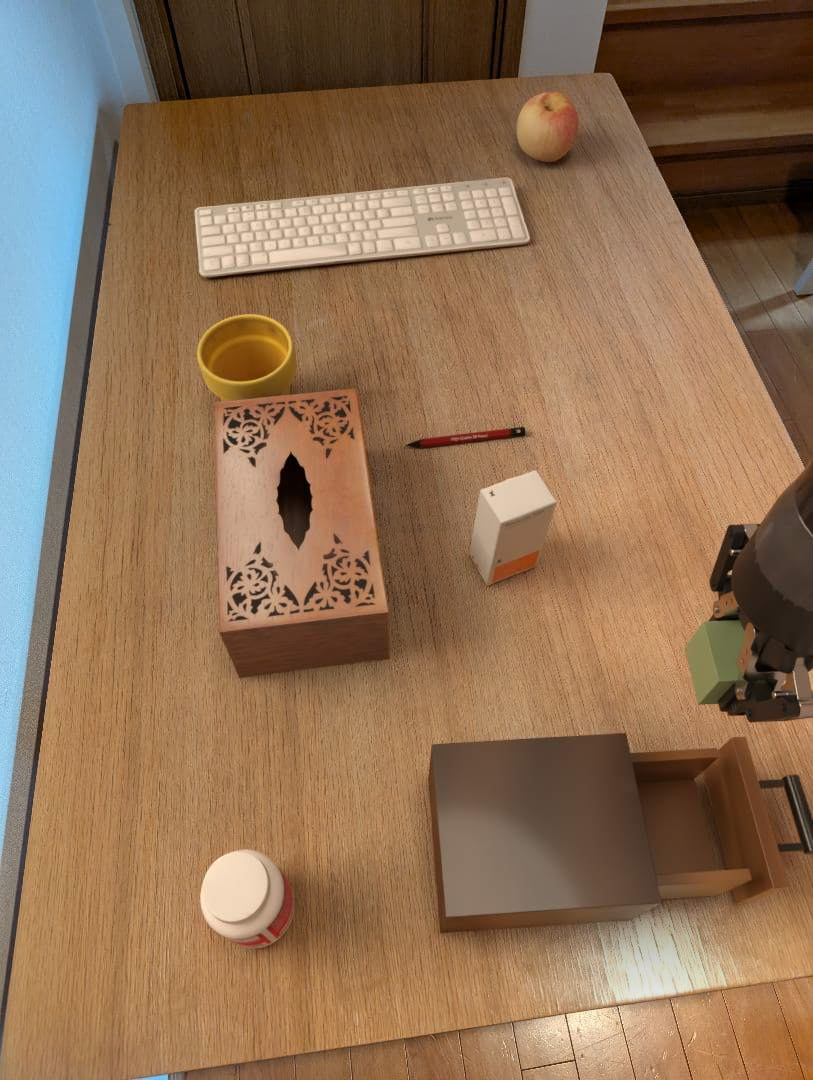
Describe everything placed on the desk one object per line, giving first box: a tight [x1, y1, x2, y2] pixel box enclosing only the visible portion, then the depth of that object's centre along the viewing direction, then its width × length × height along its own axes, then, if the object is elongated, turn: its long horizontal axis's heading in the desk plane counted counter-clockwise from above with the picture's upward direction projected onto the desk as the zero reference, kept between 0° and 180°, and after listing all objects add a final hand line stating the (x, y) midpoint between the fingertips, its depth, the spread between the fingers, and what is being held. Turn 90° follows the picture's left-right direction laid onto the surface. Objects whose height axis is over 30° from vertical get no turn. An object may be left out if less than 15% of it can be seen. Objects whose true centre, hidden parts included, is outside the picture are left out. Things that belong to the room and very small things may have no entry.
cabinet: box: [427, 732, 662, 934], centre depth 66 cm, size 16×13×10 cm
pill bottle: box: [199, 848, 296, 949], centre depth 63 cm, size 6×6×11 cm
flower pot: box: [196, 313, 297, 402], centre depth 91 cm, size 10×10×10 cm
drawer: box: [630, 736, 813, 905], centre depth 66 cm, size 19×11×8 cm, turn 94°
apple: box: [516, 91, 580, 163], centre depth 118 cm, size 9×9×8 cm
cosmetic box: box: [469, 470, 558, 587], centre depth 80 cm, size 6×4×12 cm
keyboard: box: [194, 177, 531, 279], centre depth 111 cm, size 44×12×2 cm, turn 100°
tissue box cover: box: [214, 387, 391, 678], centre depth 81 cm, size 26×14×10 cm, turn 8°
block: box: [683, 620, 764, 706], centre depth 58 cm, size 4×4×4 cm
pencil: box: [404, 426, 527, 449], centre depth 93 cm, size 1×14×1 cm, turn 99°
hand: (723, 672), depth 60 cm, fingers closed on block, 4 cm apart
